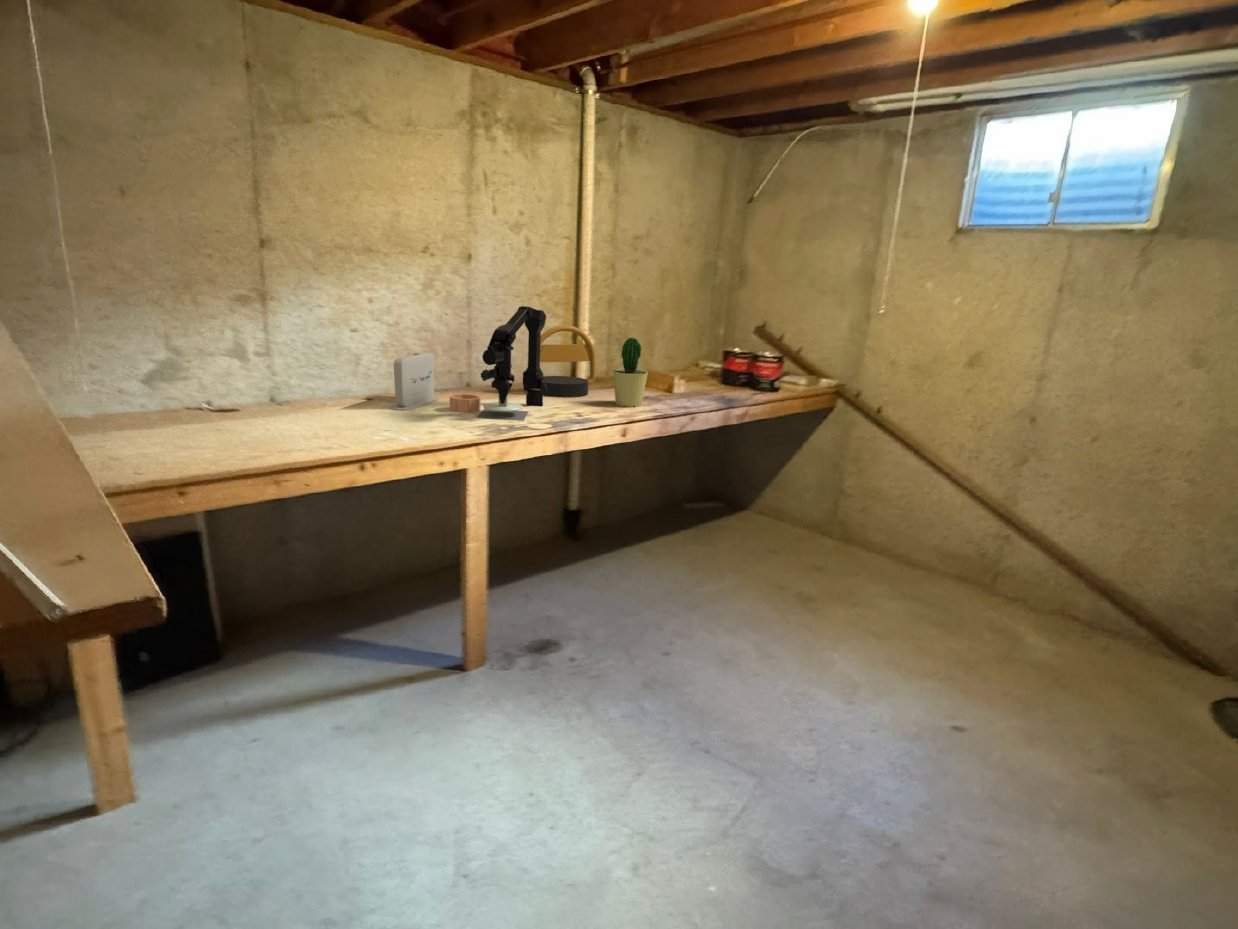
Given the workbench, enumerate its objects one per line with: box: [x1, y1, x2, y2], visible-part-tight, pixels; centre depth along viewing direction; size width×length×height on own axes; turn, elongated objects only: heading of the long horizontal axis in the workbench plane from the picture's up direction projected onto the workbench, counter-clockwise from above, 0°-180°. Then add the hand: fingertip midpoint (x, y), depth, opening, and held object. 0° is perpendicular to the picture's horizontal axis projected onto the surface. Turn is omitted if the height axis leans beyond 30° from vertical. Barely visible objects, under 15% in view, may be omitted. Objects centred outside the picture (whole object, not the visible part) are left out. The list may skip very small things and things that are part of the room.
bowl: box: [449, 393, 482, 413], centre depth 273 cm, size 11×11×6 cm
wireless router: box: [389, 351, 441, 411], centre depth 279 cm, size 31×10×20 cm, turn 168°
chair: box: [540, 324, 597, 399], centre depth 320 cm, size 25×35×32 cm
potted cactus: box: [612, 336, 649, 407], centre depth 300 cm, size 15×15×30 cm
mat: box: [475, 408, 530, 422], centre depth 267 cm, size 18×18×1 cm
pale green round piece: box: [482, 394, 523, 411], centre depth 265 cm, size 15×15×6 cm
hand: (503, 402), depth 266 cm, fingers closed on pale green round piece, 3 cm apart
